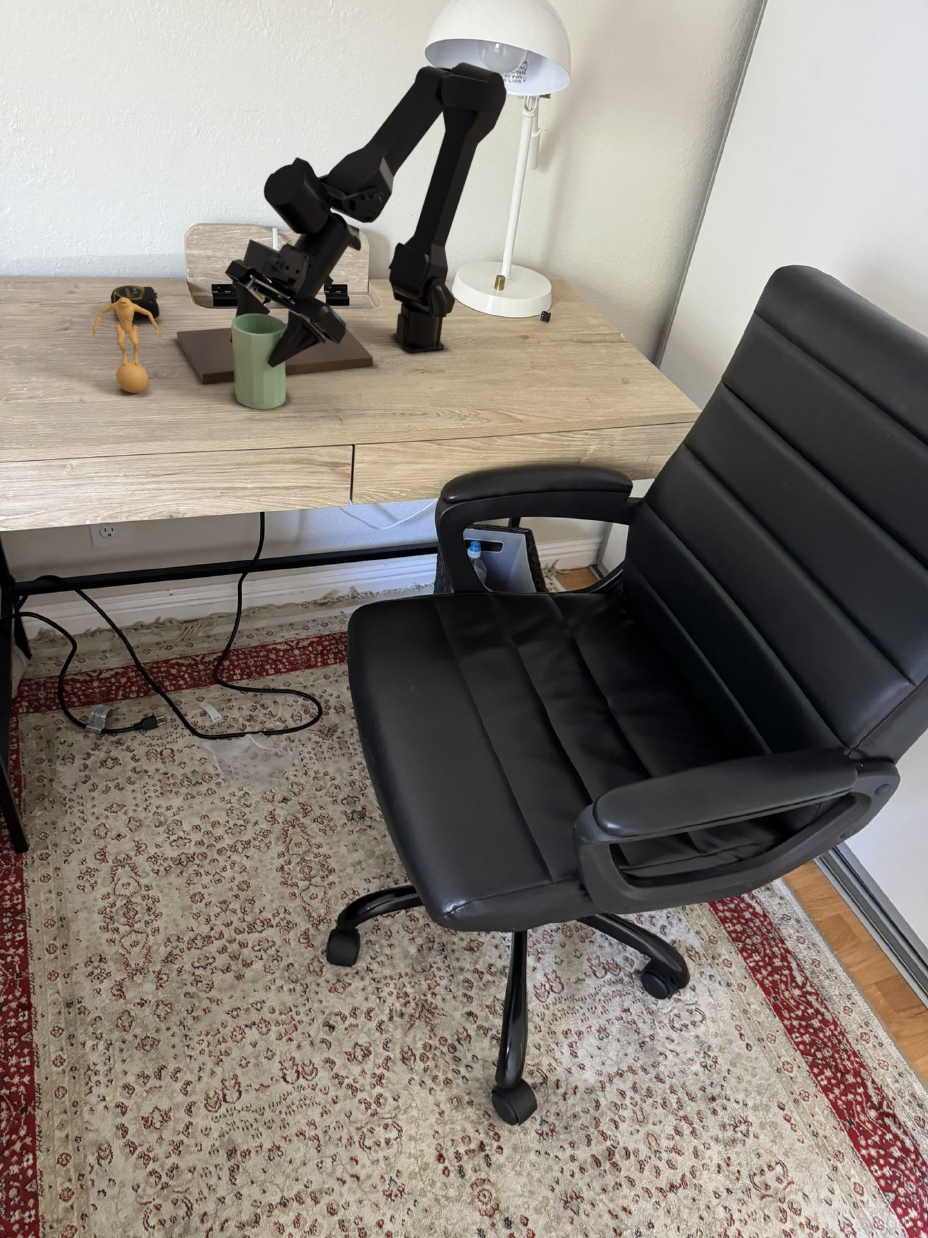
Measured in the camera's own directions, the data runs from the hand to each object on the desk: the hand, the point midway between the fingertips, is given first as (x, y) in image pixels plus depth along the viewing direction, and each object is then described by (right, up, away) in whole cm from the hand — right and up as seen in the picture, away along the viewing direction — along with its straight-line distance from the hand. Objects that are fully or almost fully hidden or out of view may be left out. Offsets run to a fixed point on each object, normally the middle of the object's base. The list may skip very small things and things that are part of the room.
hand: (251, 354), depth 107 cm
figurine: (-17, -4, +3) cm, 17 cm away
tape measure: (-22, +12, +19) cm, 32 cm away
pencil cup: (0, -4, +5) cm, 7 cm away
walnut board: (0, +5, +16) cm, 17 cm away
